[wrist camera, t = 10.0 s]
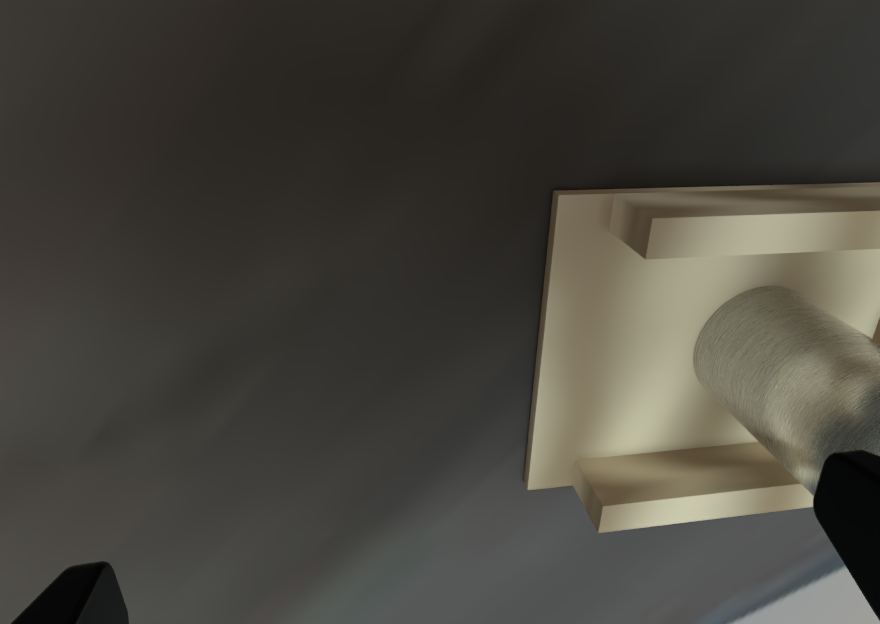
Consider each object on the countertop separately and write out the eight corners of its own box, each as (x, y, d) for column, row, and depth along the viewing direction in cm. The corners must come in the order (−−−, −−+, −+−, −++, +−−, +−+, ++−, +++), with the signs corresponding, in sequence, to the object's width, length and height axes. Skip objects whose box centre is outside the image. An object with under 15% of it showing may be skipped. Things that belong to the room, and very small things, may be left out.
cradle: (523, 481, 25) (549, 538, 23) (553, 190, 20) (590, 220, 18) (883, 443, 28) (944, 490, 25) (987, 179, 23) (1076, 203, 20)
